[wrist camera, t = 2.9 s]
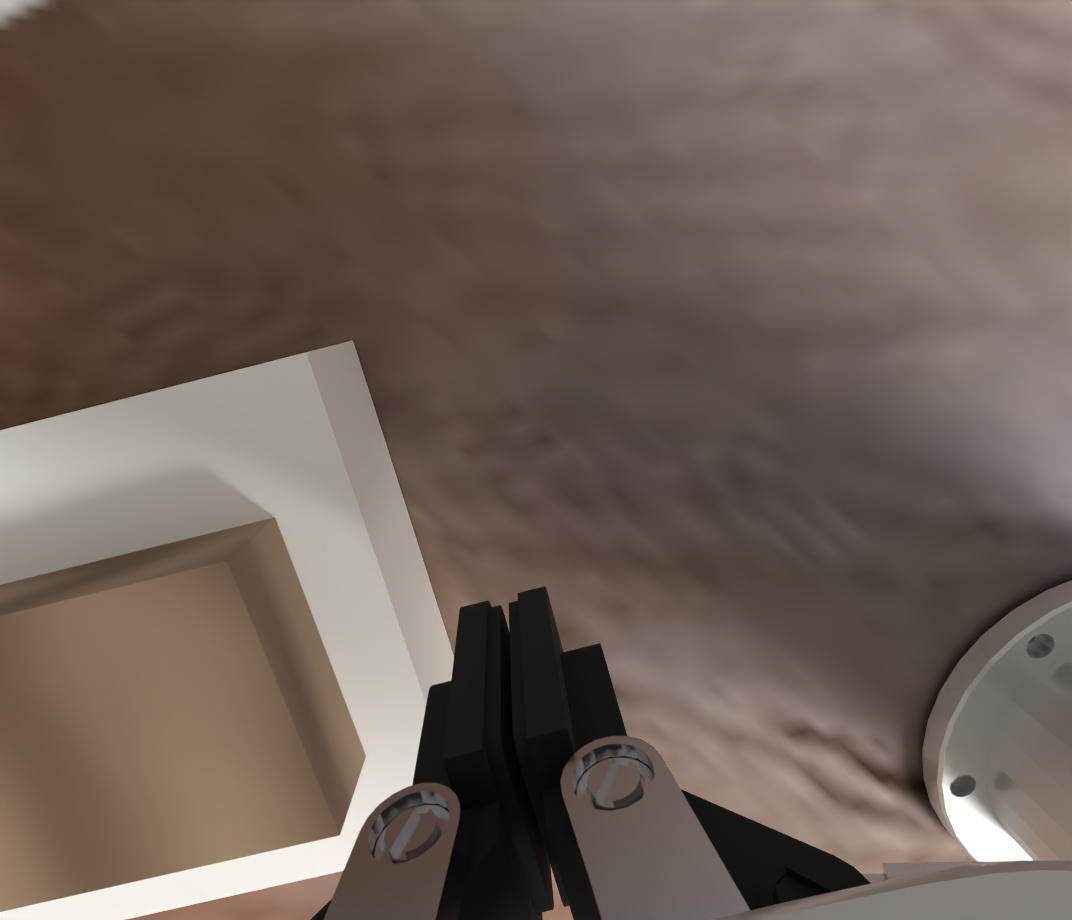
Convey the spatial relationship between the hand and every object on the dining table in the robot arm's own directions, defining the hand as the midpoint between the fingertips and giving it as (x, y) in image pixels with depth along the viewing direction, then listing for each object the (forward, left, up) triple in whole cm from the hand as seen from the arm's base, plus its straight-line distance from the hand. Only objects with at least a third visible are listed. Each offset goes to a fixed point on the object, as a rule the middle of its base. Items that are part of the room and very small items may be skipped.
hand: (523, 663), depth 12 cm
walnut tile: (+10, 0, -4) cm, 11 cm away
